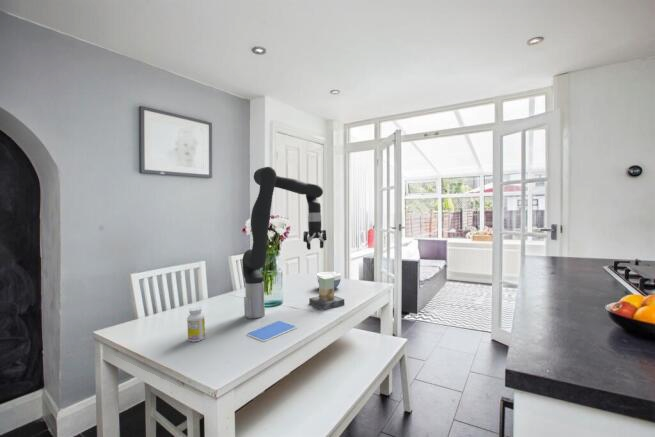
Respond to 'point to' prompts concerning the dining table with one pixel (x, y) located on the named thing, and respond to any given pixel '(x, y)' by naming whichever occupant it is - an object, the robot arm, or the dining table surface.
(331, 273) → the bowl
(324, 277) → the sage block
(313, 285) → the dining table surface
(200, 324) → the supplement bottle
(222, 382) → the dining table surface
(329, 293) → the oak block
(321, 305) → the slate base
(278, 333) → the tablet computer
